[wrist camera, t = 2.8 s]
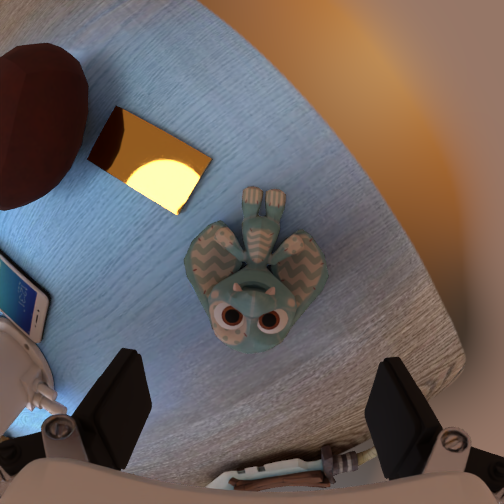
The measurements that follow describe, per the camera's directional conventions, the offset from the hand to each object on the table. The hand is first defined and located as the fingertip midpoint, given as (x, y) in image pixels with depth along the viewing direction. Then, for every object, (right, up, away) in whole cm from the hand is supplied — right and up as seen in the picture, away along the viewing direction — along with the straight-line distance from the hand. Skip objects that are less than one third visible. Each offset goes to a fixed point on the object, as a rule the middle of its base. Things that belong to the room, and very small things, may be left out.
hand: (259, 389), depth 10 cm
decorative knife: (+20, -16, +16) cm, 30 cm away
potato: (-17, +16, +10) cm, 26 cm away
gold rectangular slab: (-7, +14, +10) cm, 19 cm away
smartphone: (-29, +2, +15) cm, 32 cm away
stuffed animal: (+1, +10, +10) cm, 14 cm away
